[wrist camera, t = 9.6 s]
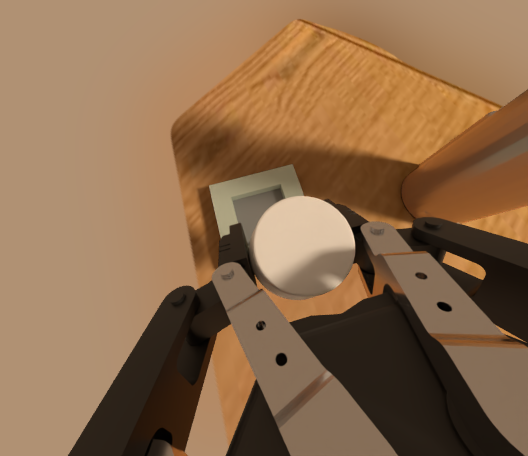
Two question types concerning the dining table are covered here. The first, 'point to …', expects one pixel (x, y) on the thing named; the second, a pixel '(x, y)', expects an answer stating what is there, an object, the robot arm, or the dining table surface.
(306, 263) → the supplement bottle
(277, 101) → the dining table surface
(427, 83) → the dining table surface
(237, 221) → the recess plate
